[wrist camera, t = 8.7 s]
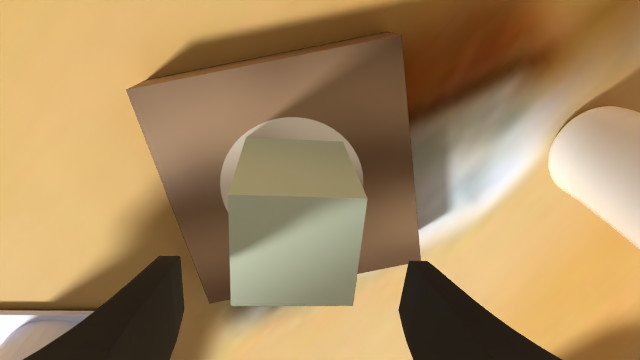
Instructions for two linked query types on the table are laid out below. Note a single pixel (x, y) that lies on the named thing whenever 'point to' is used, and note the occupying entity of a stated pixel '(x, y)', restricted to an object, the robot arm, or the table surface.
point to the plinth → (284, 123)
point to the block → (294, 224)
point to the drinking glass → (602, 165)
